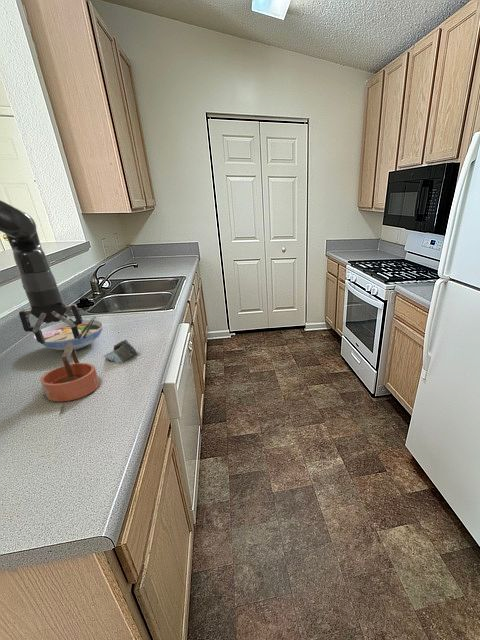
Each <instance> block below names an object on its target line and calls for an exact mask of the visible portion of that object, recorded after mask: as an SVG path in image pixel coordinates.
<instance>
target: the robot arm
mask: <svg viewBox="0 0 480 640" xmlns="http://www.w3.org/2000/svg"><path fill="white" fill-rule="evenodd" d="M0 232H1V233H3V234H5V236H6V239H7V242H8V243H9V245H10V248H11V250H12V254H13V258H14V262H15V265H16V267H17V271H18V273H19V276H20V282H21V285H22V288H23V290H24V291H25V292H24V293H25V294H26V297H27V300H28V302H29V306H30V309H23V308H22V309H21V310H20V311H19V312H18V315H19V318H20V321H21V324H22V328H23V331H24V332H26V333H28V332H31V333H33V334H34V335H35V337H36V339H37V340H36V339H35V340H36V341H37V343H39V344H40V345H43V344H44V343H45V339H44V337H43V334H42V331H41V327H42V325H43V323H46V324H50V323H52V322H53V323H59V322H60V321H61V322H62V323H63V322H64V323H67V324H68V325H70V326H71V330H72V333H73V336H74V338H75V339H78V336H79V334H80V333H79V330H78V327H77V325H79V324H82V321H83V320H84V319H83V318H82V314H81V313H80V309H79V308H78V305H77V303H75V302H74V303H72V304H68V305H65V304H64V302H63V299H62V296H61V294H60V293H61V292H60V289H59V288H58V284H57V281H56V278H55V275H54V273H53V271H52V270H51V267H50V264H49V261H48V258H47V256H46V254H45V252H44V250H43V248H42V244H41V241H40V238H39V233H38V231H37V224H36V221H35V220H34V219H33V217H31V216H30V215H29V214H28V213H27V212H25V211H23V210H21V209H19V208H17V207H14V206H13V205H11V204H8V203H7V202H5V201H3V200H1V199H0ZM67 310H68V311H69V312H70V313H72V314H73V316H74V318H75V320H76V321H75V320H74V319H73V318H71V316H69V315H68V314H66V311H67ZM31 315H32V316H33V317H35V318H36V319H37V320H36V322H35V324H34V325H31V322H30V319H29V318H30V317H31Z"/></svg>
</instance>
